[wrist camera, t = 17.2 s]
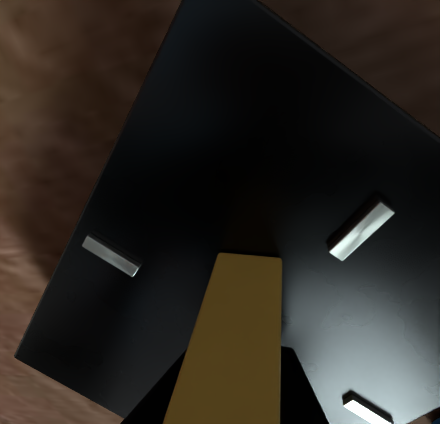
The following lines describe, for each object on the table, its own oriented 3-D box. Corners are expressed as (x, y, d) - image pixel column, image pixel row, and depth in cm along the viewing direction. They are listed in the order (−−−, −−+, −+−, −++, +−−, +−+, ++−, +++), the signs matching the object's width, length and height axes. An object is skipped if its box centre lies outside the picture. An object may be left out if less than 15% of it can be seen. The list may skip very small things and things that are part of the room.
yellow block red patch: (269, 404, 9) (258, 645, 6) (220, 397, 9) (178, 623, 6) (282, 256, 7) (279, 493, 3) (218, 250, 7) (146, 465, 4)
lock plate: (269, 427, 14) (266, 504, 11) (59, 304, 13) (8, 361, 10) (555, 231, 8) (660, 303, 6) (226, -16, 7) (198, -47, 5)
